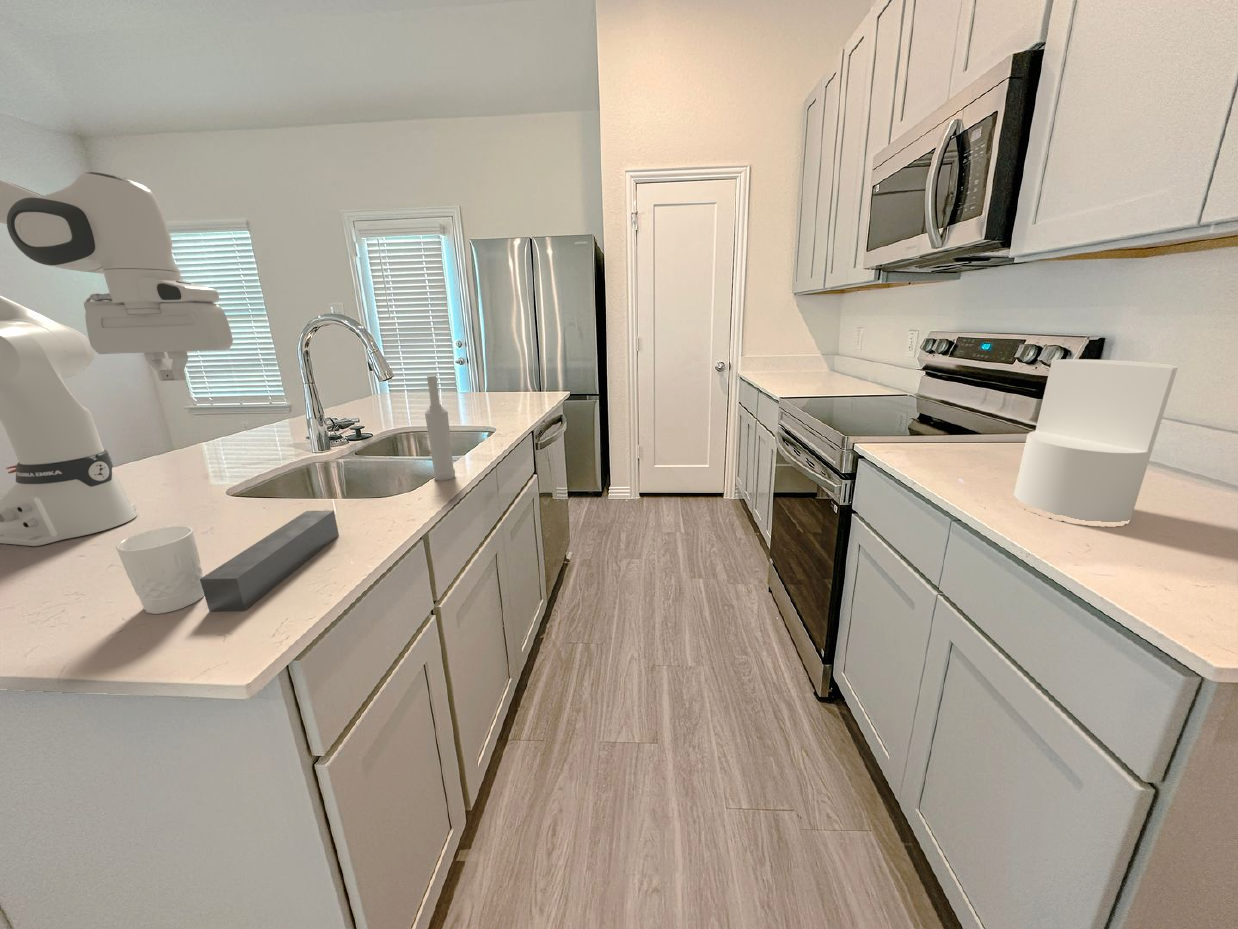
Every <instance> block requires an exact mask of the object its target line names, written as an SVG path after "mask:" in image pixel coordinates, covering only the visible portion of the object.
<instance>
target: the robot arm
mask: <svg viewBox="0 0 1238 929" xmlns="http://www.w3.org/2000/svg"><path fill="white" fill-rule="evenodd" d="M0 224H5V225H6V228H7V231H8V234H9V237H10V239H11V240H12V242H13V243H14V245H15V246H16V247H17V248H18V249H19V251H21V253H23V254H24V256H26V257H28V258H29V259H30V260H32V261H34V262H36V263H38V264H41V265H44V266H49V267H51V268H55V269H63V270H68V271H77V272H84V273H85V272H86V273H93V274H102V275H104V279H105V282H106V286H107V288H108V289H107V290H108V291H109V292H108V293H92V294H90V295H89V297H88V298H87V299H86V300H85V301H84V302H83V307H84V308H83V309H84V311H85V313H84V320H85V326H86V332H87V336H86V335H84V334H83V333H82V331H81V332H80V331H79V330H78V329H75V328H73V327H72V326H68V325H66V324H63V323H60V322H57V321H55V320H52V319H50V318H49V317H46V316H44V315H42V314H40V313H37V311H36V312H35V311H34V310H32V309H30V308H28V307H25V306H23V305H21V304H19V303H18V302H15V301H13V300H11V299H8V298H6V297H4V296H1V295H0V422H1V423H2V425H3V428H4V430H5V432H6V434H7V437H8V439H9V441H10V444H11V446H12V448H13V451H14V454H15V456H16V458H17V460H18V462H17V463H16V464H15V465H13V466H12V465H11V466H8V467H6V468H5V469H6V470H9V469H11V470H10V471H8V472H7V473H8V474H13V473H15V484H14V485H13V486H12V487H11V488H10V489H9V490H8V491H7V492H6V493H5V494H3V495H2V496H1V497H0V544H6V545H7V544H8V545H16V546H18V545H19V546H27V547H28V546H31V547H37V546H43V545H47V544H51V543H55V542H60V541H63V540H68V539H74V538H78V537H83V536H87V535H91V534H95V533H98V532H99V533H100V532H103V531H107V530H110V529H113V528H116V527H118V526H121V525H123V524H125V523H128V522H130V521H131V520H133V519H134V518H136V517H137V516H138V512H137V510H136V508H137V507H136V504H135V502H130V500H129V497H128V495H127V493H126V490H125V489H124V487H123V484H122V483H121V481H120V479H119V477H118V475H117V474H116V473H115V472H114V471H113V468H114V464H113V462H112V457H111V455H110V454H109V452H108V450H106V449H105V448H104V446H103V443H102V440H101V436H100V434H99V431H98V427H97V425H96V423H95V419H94V417H93V413H92V412H91V410H89V409H88V408H87V407H86V406H84V405H82V404H81V403H80V402H79V401H78V400H77V399H76V397H75V396H74V395H73V394H72V392H71V391H70V389H69V388H68V387H67V385H66V384H65V382H64V379H68V378H71V377H74V376H76V375H77V374H79V373H81V372H82V371H83V370H85V369H87V367H89V366H90V365H91V364H92V362H93V359H94V358H95V356H94V355H95V353H97V354H99V355H114V354H115V355H116V354H117V355H118V354H144V355H143V356H144V358H145V360H146V362H147V363H148V364H149V365H150V366H151V367H152V368H153V369H154V370H155V371H156V372H157V376H158V379H159V381H161V382H176V381H177V382H179V381H185V380H187V376H186V371H185V368H186V366H187V362H188V360H189V356H188V352H194V351H195V352H198V351H201V352H202V351H203V352H205V351H225V350H230V349H231V347H232V345H233V342H234V340H233V334H232V331H231V327H230V324H229V321H228V318H227V316H226V313H225V311H224V309H223V308H222V307H221V306H220V305H218V304H217V303H219V302H220V295H219V292H218V290H216V289H215V288H212V287H208V286H205V285H202V284H197V283H193V282H190V281H187V280H183V279H182V275H181V273H180V271H181V270H180V269H179V266H178V265H177V264H176V263H175V261H174V258H173V251H172V249H173V242H172V237H171V233H170V230H169V227H168V224H167V221H166V217H165V215H164V212H163V210H162V207H161V206H160V203H159V200H158V199H157V197H156V195H155V194H154V192H153V191H152V190H151V189H149V188H148V186H145V185H143V184H142V183H138V182H137V181H134V180H131V179H128V178H124V177H120V176H117V175H114V174H108V173H103V172H95V171H89V172H82V173H80V174H79V175H78V176H77V178H76V179H75V180H74V182H72V183H71V184H70V185H68V186H66V187H64V188H62V189H59V190H56V191H54V192H51V193H48V194H45V195H43V194H40V193H37V192H34V191H33V190H29V189H28V188H24V187H22V186H20V185H18V184H14V183H11V182H10V181H7V180H4V179H2V178H0ZM165 353H167V356H168V359H169V360H172V362H171V365H170V367H171V368H170V367H169V366H168V365H167V362H165V361H164V359H165V360H166V355H165Z"/></svg>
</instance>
